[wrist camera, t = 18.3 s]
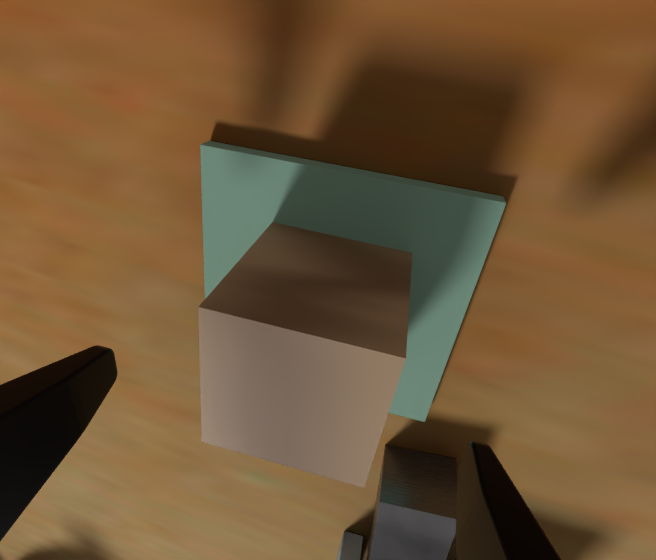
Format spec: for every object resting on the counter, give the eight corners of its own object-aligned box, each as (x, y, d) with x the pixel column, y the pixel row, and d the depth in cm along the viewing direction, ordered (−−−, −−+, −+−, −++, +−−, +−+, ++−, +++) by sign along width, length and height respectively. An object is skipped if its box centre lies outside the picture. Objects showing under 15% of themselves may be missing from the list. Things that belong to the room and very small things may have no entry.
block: (412, 252, 13) (405, 358, 8) (381, 361, 15) (364, 487, 11) (272, 221, 13) (198, 307, 9) (263, 332, 15) (201, 441, 11)
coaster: (503, 196, 12) (506, 203, 11) (424, 410, 16) (424, 421, 16) (209, 140, 13) (200, 145, 12) (213, 357, 17) (206, 366, 17)
